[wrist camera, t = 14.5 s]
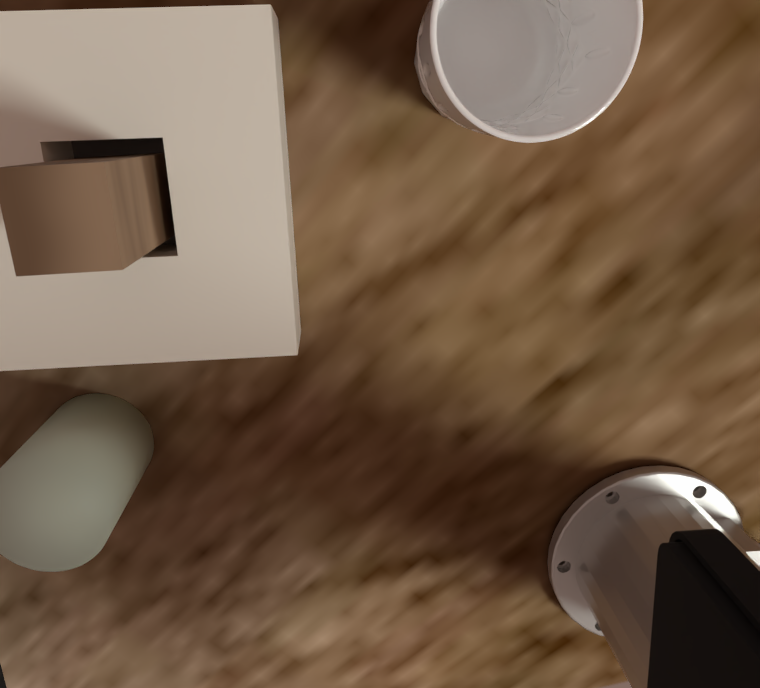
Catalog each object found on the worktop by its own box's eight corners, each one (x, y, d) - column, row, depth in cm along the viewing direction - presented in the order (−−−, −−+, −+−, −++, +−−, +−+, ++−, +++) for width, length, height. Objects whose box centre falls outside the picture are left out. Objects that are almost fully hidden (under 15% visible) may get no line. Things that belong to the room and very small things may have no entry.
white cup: (379, 104, 34) (397, 95, 25) (438, -59, 32) (482, -137, 23) (517, 161, 35) (585, 173, 26) (582, 8, 33) (682, -39, 24)
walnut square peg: (168, 152, 34) (104, 162, 24) (179, 231, 35) (122, 270, 26) (88, 156, 34) (-9, 168, 24) (102, 236, 35) (15, 276, 25)
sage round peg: (146, 390, 38) (99, 455, 30) (160, 483, 40) (120, 567, 32) (38, 396, 38) (-36, 464, 30) (58, 490, 40) (-8, 576, 32)
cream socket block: (278, 18, 33) (270, 4, 29) (301, 332, 37) (297, 355, 34) (-61, 27, 32) (-114, 14, 28) (9, 347, 37) (-29, 372, 33)
